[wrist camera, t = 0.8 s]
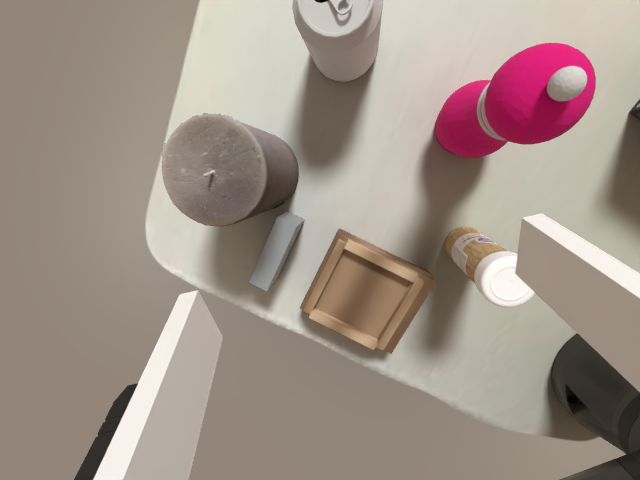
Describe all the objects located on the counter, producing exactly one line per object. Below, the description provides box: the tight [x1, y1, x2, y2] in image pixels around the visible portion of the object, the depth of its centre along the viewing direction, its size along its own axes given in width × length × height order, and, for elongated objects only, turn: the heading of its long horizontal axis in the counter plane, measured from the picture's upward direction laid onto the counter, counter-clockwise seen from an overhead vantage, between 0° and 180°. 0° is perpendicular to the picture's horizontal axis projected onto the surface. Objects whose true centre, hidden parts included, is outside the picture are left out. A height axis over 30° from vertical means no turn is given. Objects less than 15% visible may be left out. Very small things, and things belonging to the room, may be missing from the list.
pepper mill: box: [435, 43, 596, 158], centre depth 26 cm, size 7×7×20 cm
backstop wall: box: [249, 211, 304, 292], centre depth 40 cm, size 2×9×5 cm, turn 155°
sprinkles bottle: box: [445, 227, 535, 307], centre depth 33 cm, size 5×5×13 cm
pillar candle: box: [162, 113, 299, 226], centre depth 33 cm, size 10×10×15 cm
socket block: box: [300, 229, 436, 354], centre depth 40 cm, size 13×11×4 cm
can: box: [293, 0, 383, 82], centre depth 30 cm, size 8×8×12 cm
